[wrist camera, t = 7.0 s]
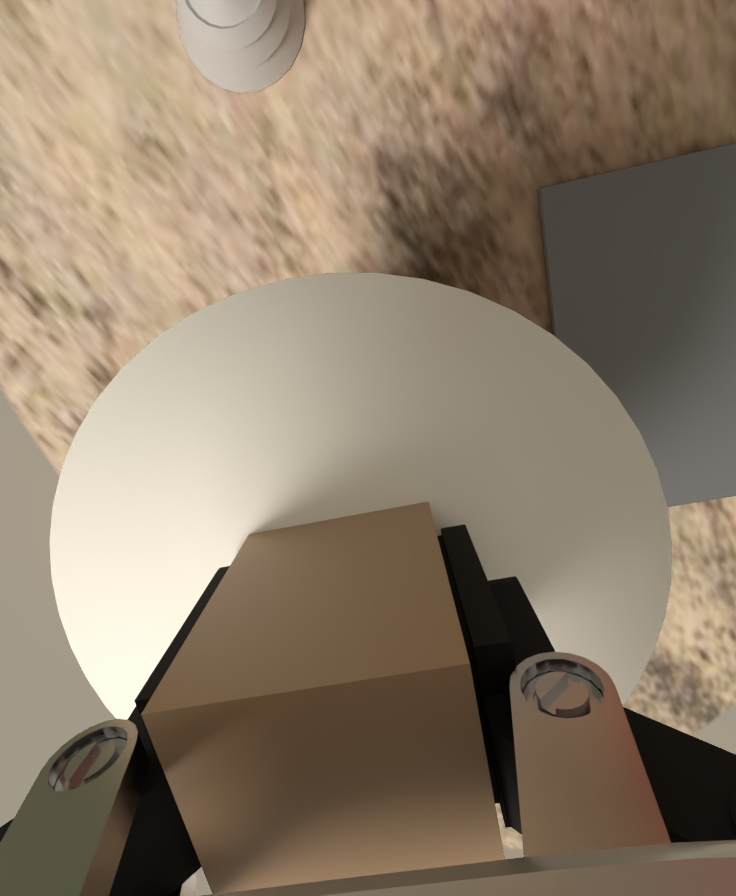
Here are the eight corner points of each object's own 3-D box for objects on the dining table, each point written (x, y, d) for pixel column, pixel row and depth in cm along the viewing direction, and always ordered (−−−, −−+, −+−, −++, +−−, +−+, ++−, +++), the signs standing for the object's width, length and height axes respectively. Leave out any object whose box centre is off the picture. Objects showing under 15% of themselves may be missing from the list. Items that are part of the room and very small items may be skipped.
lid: (628, 208, 10) (997, 49, 4) (661, 757, 13) (879, 1099, 7) (-15, 351, 11) (-476, 393, 5) (175, 823, 14) (36, 1167, 9)
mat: (931, 99, 19) (942, 95, 18) (900, 464, 23) (909, 466, 22) (537, 190, 20) (540, 187, 20) (572, 519, 24) (574, 522, 24)
